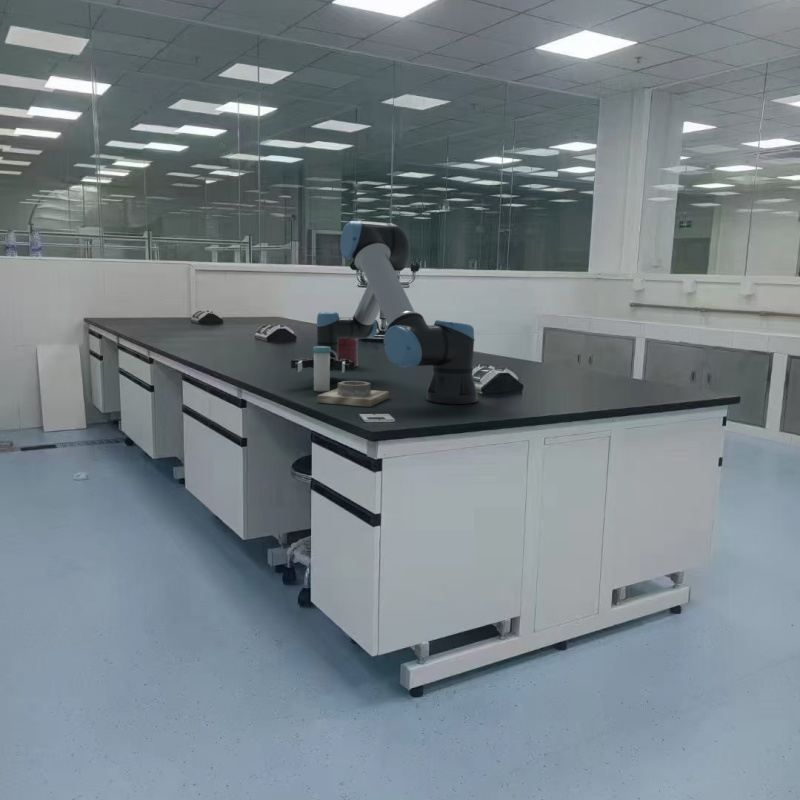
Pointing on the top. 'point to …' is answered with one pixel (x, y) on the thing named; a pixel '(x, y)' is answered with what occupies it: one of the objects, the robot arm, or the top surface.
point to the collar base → (353, 394)
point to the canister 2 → (348, 349)
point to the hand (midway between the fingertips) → (321, 367)
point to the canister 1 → (321, 368)
